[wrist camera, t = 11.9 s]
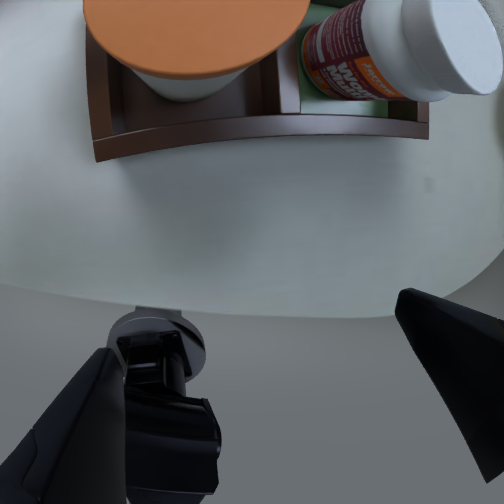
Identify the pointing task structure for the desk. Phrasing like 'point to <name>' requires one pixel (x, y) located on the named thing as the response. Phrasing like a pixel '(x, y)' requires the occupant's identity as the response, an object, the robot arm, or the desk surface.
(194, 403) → the robot arm
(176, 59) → the pill bottle
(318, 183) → the desk surface
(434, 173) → the desk surface
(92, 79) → the rack
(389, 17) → the pill bottle
